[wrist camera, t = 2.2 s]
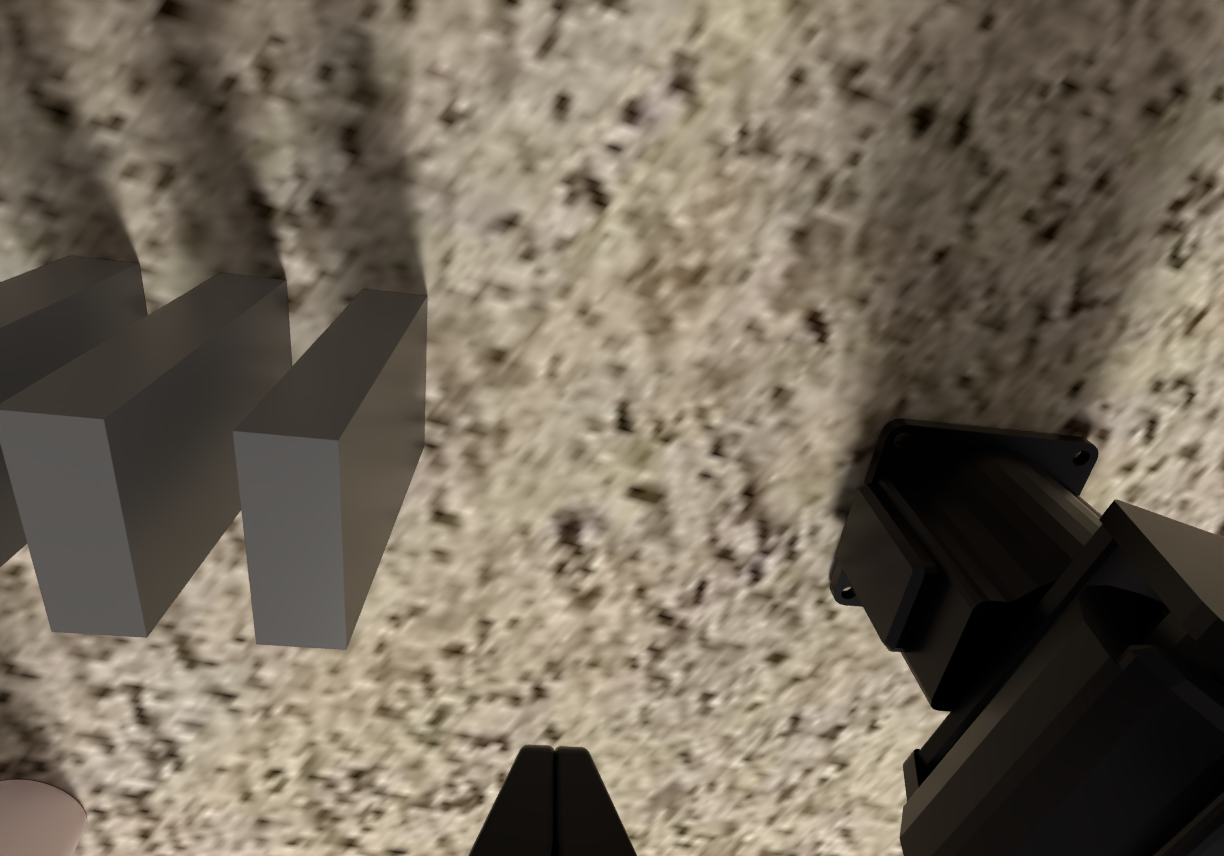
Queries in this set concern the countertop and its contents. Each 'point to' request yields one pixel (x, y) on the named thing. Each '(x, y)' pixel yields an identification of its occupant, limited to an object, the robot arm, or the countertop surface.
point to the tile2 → (142, 452)
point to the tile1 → (332, 469)
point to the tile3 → (57, 337)
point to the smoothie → (38, 820)
